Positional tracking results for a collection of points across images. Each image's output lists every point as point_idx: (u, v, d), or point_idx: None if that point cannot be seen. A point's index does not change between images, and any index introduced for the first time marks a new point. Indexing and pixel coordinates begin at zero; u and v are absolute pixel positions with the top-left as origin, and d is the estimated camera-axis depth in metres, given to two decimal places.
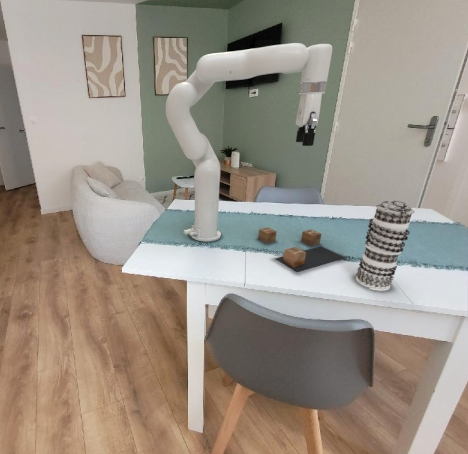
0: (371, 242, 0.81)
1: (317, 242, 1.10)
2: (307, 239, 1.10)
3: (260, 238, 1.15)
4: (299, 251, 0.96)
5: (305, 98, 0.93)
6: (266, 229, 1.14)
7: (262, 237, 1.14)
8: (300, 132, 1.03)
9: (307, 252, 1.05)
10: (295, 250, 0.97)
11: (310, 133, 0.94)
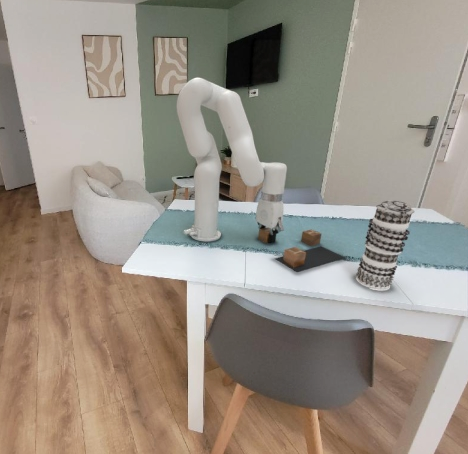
0: (371, 242, 0.81)
1: (317, 242, 1.10)
2: (307, 239, 1.10)
3: (260, 238, 1.15)
4: (299, 251, 0.96)
5: (271, 206, 1.06)
6: (266, 229, 1.14)
7: (262, 237, 1.14)
8: None
9: (307, 252, 1.05)
10: (295, 250, 0.97)
11: (274, 234, 1.11)
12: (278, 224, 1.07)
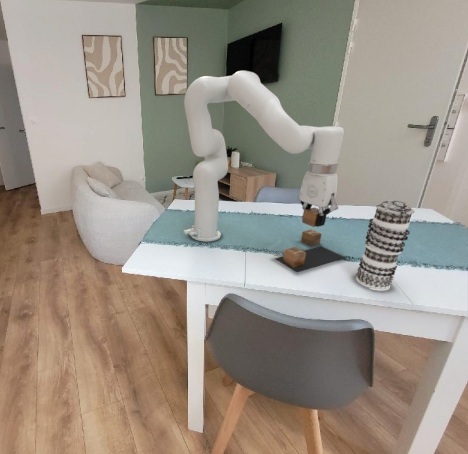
0: (371, 242, 0.81)
1: (317, 242, 1.10)
2: (307, 239, 1.10)
3: (305, 220, 0.97)
4: (299, 251, 0.96)
5: (323, 179, 0.87)
6: (313, 209, 0.96)
7: (309, 219, 0.95)
8: None
9: (307, 252, 1.05)
10: (295, 250, 0.97)
11: (325, 215, 0.92)
12: (331, 202, 0.88)
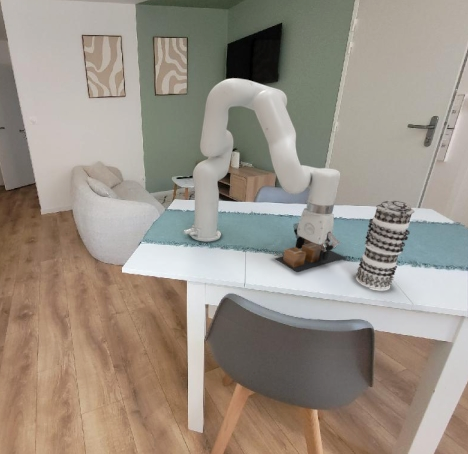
0: (371, 242, 0.81)
1: None
2: None
3: None
4: (299, 251, 0.96)
5: (320, 219, 0.91)
6: (310, 245, 1.00)
7: (307, 255, 0.99)
8: (300, 240, 1.03)
9: None
10: (295, 250, 0.97)
11: (327, 251, 0.94)
12: (328, 235, 0.92)
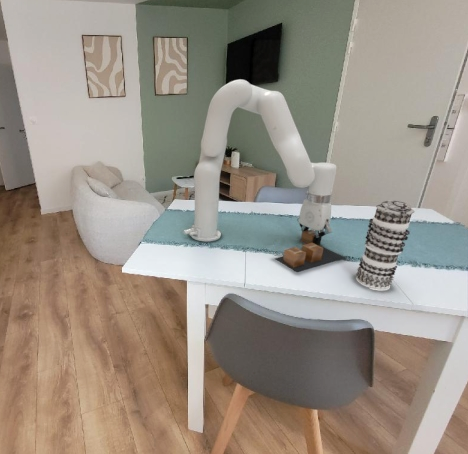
0: (371, 242, 0.81)
1: None
2: (307, 239, 1.10)
3: None
4: (299, 251, 0.96)
5: (319, 207, 1.02)
6: (310, 245, 1.00)
7: (307, 255, 0.99)
8: None
9: None
10: (295, 250, 0.97)
11: (320, 237, 1.07)
12: (325, 226, 1.03)
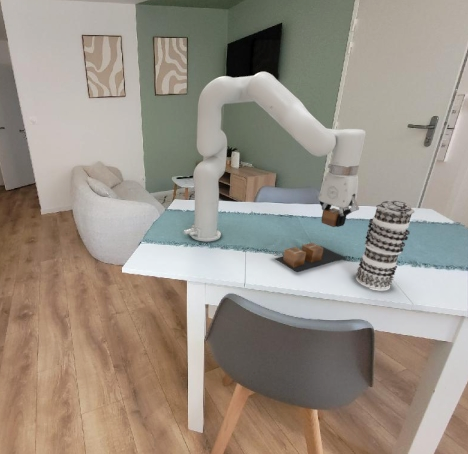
0: (371, 242, 0.81)
1: None
2: (329, 219, 0.97)
3: None
4: (299, 251, 0.96)
5: (345, 180, 0.89)
6: (310, 245, 1.00)
7: (307, 255, 0.99)
8: None
9: None
10: (295, 250, 0.97)
11: (345, 215, 0.94)
12: (352, 202, 0.90)
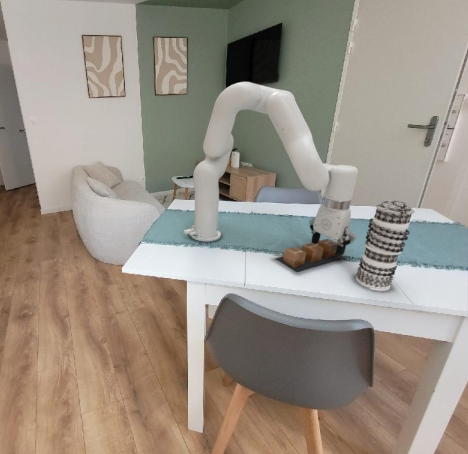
0: (371, 242, 0.81)
1: (334, 253, 1.01)
2: (323, 250, 1.01)
3: None
4: (299, 251, 0.96)
5: (337, 214, 0.93)
6: (310, 245, 1.00)
7: (307, 255, 0.99)
8: (316, 236, 1.05)
9: None
10: (295, 250, 0.97)
11: (344, 246, 0.96)
12: (345, 230, 0.94)
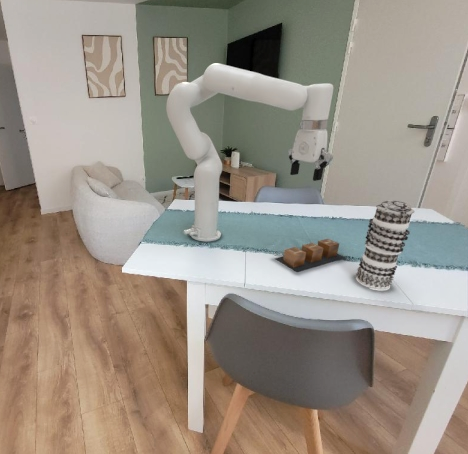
0: (371, 242, 0.81)
1: (334, 253, 1.01)
2: (323, 250, 1.01)
3: None
4: (299, 251, 0.96)
5: (314, 134, 0.92)
6: (310, 245, 1.00)
7: (307, 255, 0.99)
8: (295, 165, 1.04)
9: None
10: (295, 250, 0.97)
11: (322, 168, 0.95)
12: (322, 151, 0.93)
